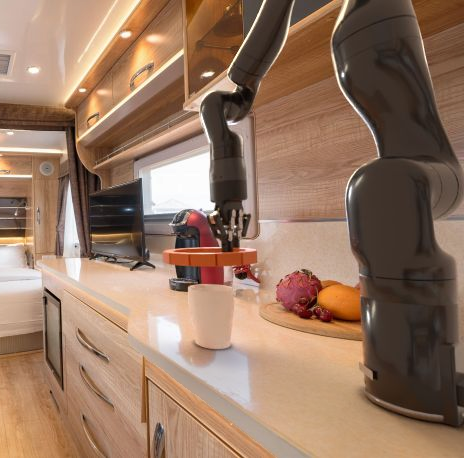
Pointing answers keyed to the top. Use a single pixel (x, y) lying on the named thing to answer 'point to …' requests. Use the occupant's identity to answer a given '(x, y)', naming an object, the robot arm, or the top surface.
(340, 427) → the top surface
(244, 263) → the ring
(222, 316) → the cup
